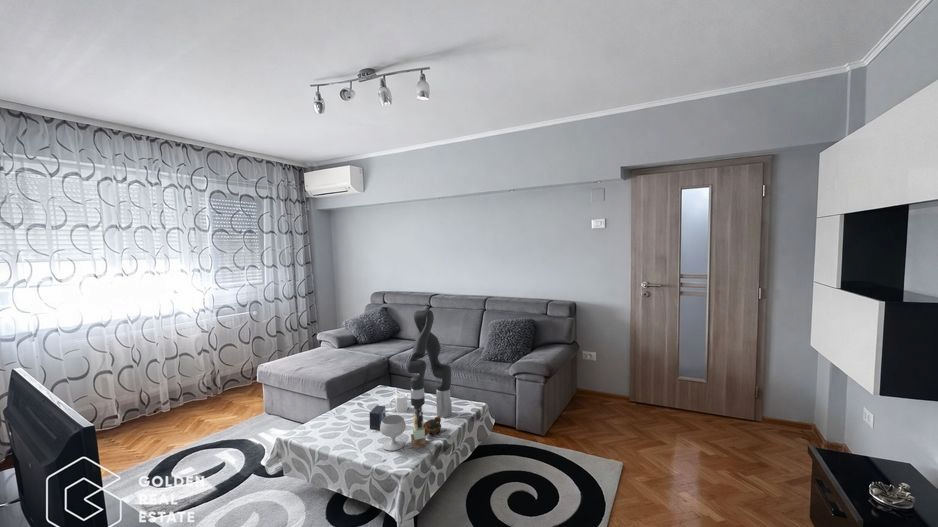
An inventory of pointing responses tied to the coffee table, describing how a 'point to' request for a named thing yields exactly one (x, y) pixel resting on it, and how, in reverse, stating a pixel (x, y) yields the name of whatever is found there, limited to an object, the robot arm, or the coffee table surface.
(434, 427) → the decorative turtle
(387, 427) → the chalice
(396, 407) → the mug
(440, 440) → the coffee table surface
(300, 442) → the coffee table surface
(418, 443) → the tower slab
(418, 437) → the tower cube
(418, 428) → the oak block
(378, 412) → the small box
